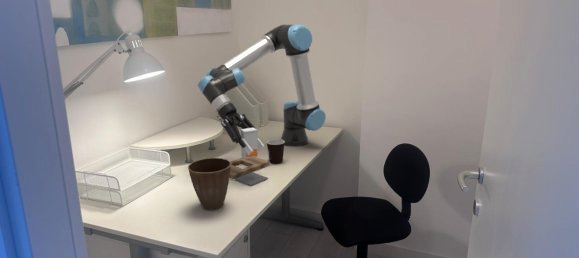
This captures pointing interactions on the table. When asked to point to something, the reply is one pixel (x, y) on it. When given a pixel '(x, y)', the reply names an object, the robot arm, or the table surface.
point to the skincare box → (250, 142)
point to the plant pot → (210, 181)
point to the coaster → (251, 179)
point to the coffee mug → (275, 150)
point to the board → (252, 165)
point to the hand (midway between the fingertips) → (256, 150)
